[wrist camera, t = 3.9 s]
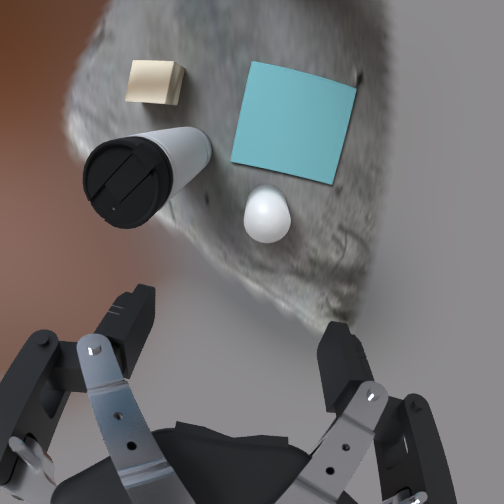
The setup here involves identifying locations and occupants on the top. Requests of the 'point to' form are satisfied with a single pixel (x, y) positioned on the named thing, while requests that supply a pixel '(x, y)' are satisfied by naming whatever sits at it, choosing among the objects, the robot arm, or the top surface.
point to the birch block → (155, 82)
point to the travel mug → (143, 173)
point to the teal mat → (292, 122)
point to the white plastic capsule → (266, 214)
